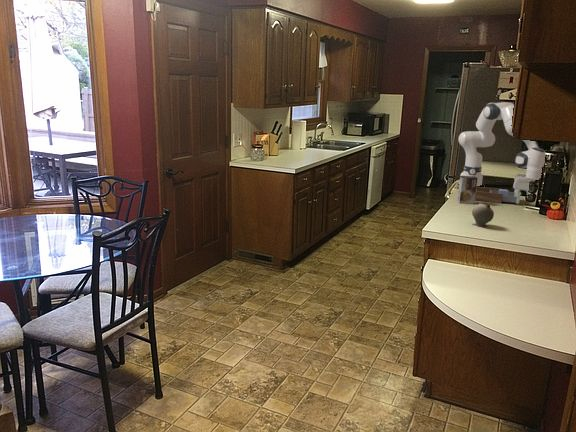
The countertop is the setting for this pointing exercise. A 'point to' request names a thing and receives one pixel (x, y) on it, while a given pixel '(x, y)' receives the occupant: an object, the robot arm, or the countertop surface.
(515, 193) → the tray
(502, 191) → the block
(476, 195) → the box
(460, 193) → the coffee box
